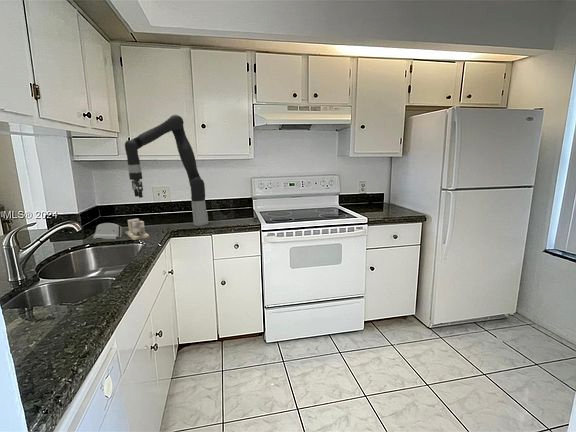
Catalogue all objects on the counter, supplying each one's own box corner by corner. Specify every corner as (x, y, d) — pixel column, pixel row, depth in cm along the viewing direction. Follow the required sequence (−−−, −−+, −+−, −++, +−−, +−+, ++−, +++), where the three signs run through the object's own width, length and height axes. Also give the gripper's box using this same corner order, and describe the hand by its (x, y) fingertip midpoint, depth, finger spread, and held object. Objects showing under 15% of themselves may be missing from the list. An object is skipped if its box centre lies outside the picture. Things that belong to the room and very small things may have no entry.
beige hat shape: (140, 231, 208) (138, 217, 206) (149, 237, 193) (147, 221, 191) (125, 234, 203) (123, 219, 201) (133, 239, 187) (131, 224, 186)
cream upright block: (139, 230, 204) (137, 218, 203) (140, 231, 201) (139, 219, 200) (129, 232, 201) (127, 219, 199) (130, 233, 198) (129, 220, 196)
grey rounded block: (92, 238, 194) (94, 222, 196) (98, 238, 199) (100, 223, 200) (115, 239, 191) (117, 222, 192) (121, 239, 195) (123, 223, 197)
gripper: (125, 172, 206) (129, 196, 209) (132, 172, 195) (135, 198, 198) (138, 171, 210) (141, 195, 214) (144, 171, 200) (148, 197, 203)
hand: (138, 197), depth 206 cm, fingers open, 8 cm apart
